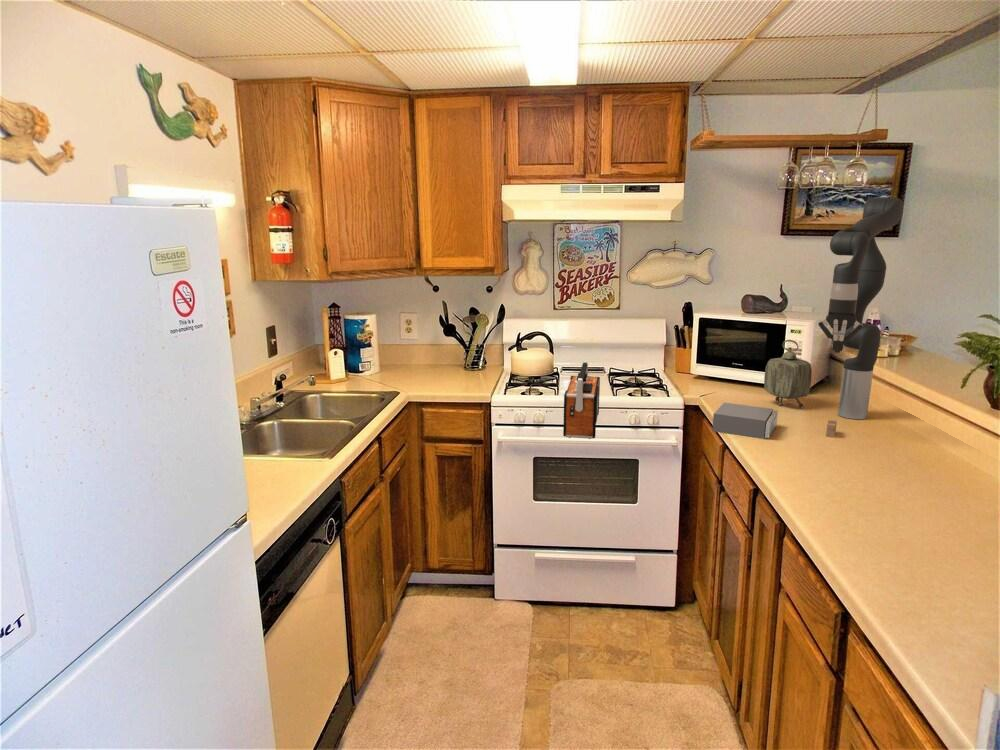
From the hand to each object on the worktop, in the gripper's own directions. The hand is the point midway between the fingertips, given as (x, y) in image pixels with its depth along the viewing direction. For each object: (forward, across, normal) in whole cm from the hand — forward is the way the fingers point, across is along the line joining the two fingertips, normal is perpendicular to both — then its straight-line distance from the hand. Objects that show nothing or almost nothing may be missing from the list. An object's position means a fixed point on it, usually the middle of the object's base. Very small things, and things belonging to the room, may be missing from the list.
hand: (837, 352), depth 205 cm
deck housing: (+27, +25, +9) cm, 38 cm away
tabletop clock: (+27, +17, -29) cm, 43 cm away
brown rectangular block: (+27, -1, +1) cm, 27 cm away
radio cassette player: (+27, +72, +35) cm, 85 cm away
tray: (+26, +24, +9) cm, 36 cm away
